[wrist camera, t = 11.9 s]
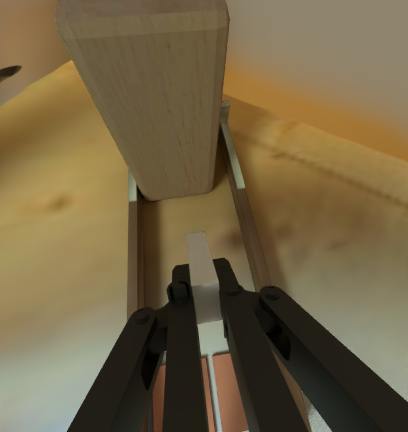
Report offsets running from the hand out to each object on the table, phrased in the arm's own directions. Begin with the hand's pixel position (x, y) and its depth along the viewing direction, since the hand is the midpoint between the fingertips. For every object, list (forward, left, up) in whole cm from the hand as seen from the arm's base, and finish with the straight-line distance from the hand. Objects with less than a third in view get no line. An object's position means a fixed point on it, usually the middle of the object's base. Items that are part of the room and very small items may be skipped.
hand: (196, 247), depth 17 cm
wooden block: (-2, +15, -9) cm, 17 cm away
